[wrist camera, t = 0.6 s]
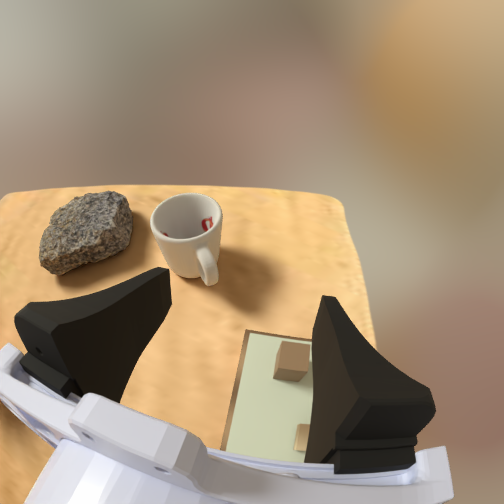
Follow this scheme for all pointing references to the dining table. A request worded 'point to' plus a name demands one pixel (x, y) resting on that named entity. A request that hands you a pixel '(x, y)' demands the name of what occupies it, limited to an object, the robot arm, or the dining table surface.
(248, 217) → the dining table surface
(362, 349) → the robot arm
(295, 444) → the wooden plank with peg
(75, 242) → the rock
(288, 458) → the lid
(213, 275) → the cup
